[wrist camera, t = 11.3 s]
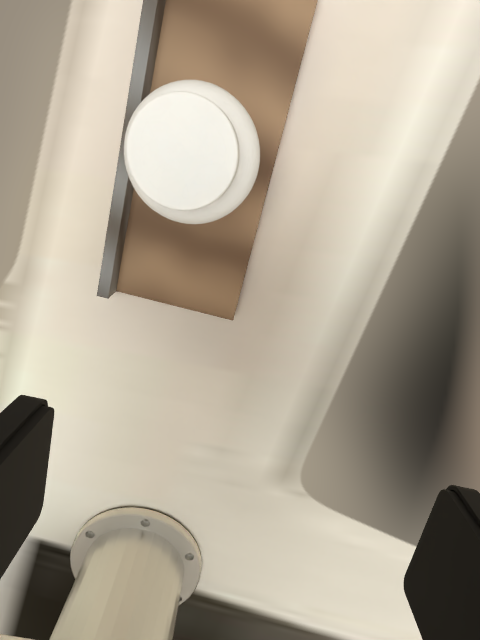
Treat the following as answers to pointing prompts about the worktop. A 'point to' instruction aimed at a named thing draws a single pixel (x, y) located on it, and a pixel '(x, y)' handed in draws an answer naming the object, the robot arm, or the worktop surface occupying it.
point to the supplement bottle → (191, 151)
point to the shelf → (266, 113)
